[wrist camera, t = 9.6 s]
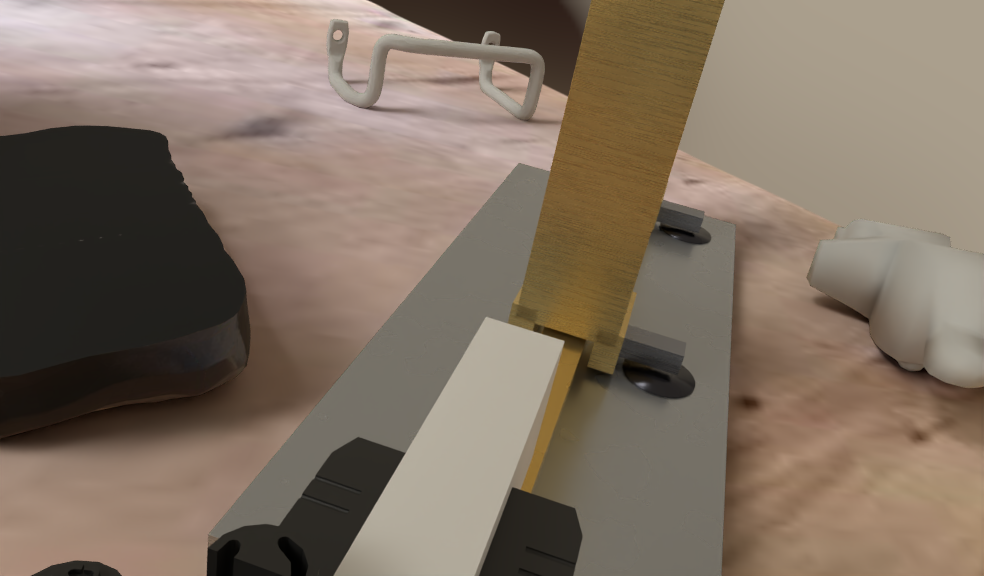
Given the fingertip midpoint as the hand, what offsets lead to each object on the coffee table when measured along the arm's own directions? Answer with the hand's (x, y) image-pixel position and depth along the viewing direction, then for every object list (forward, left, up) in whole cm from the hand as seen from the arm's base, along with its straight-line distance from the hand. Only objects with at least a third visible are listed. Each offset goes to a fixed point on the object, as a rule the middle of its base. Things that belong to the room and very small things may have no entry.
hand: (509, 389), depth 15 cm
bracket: (-15, +41, -8) cm, 44 cm away
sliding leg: (+1, +13, -6) cm, 15 cm away
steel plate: (0, +15, -8) cm, 17 cm away
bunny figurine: (+15, +24, -8) cm, 29 cm away
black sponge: (-16, +8, -8) cm, 20 cm away
